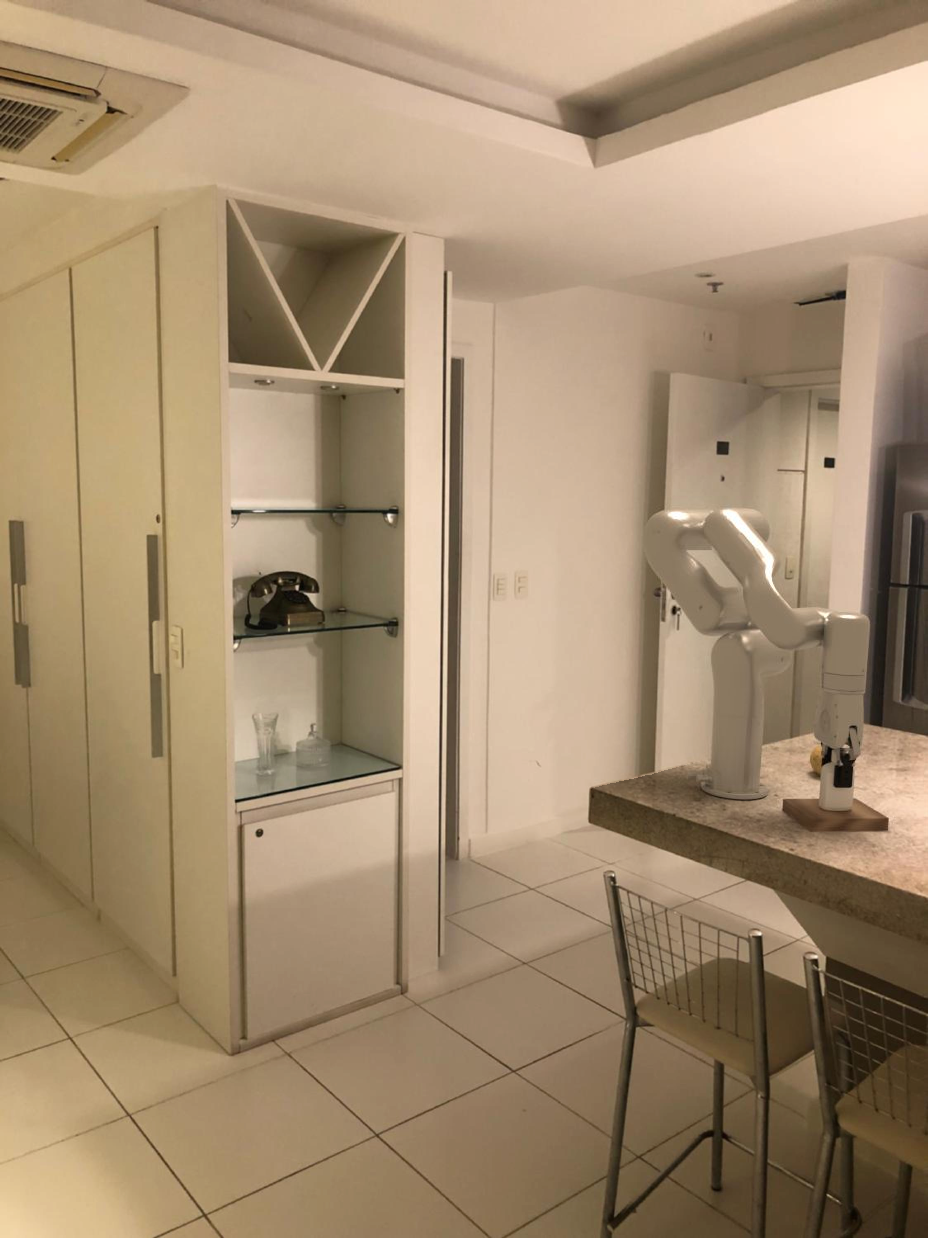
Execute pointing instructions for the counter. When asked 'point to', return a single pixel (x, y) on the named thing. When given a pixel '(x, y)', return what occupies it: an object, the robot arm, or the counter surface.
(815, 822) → the walnut block
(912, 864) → the counter surface
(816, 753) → the potato
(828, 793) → the grey tapered bottle shape
